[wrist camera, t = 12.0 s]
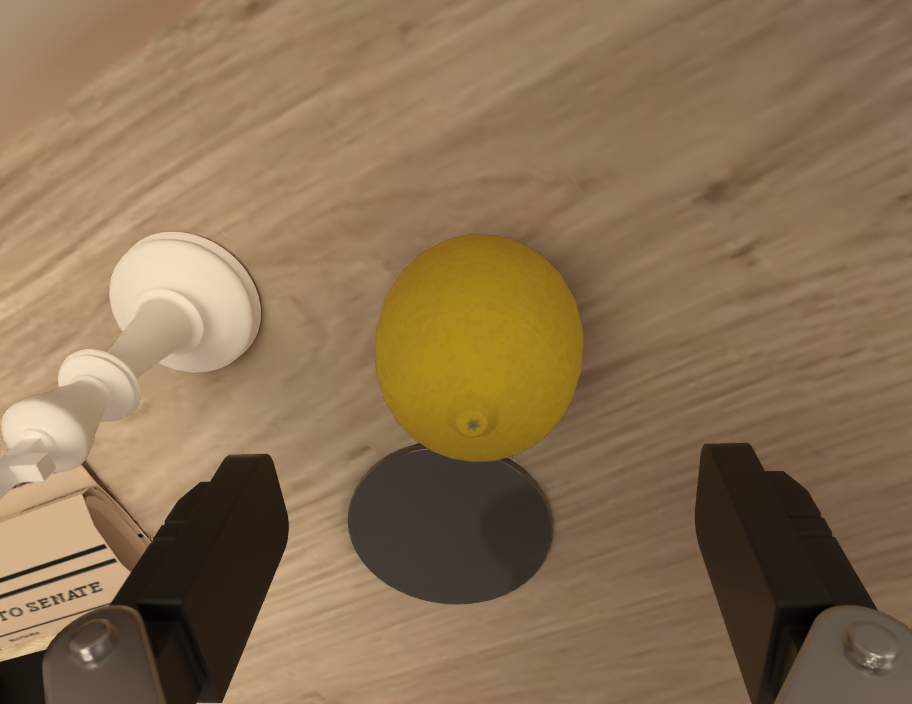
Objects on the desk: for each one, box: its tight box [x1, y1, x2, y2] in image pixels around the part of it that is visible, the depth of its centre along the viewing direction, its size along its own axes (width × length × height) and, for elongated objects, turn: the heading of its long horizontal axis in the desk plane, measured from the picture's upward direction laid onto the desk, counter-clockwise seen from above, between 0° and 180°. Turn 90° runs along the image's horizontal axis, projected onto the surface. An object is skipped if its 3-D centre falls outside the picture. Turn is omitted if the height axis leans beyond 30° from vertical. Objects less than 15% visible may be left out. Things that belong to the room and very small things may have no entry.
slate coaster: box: [348, 444, 553, 604], centre depth 26 cm, size 8×8×1 cm
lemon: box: [375, 234, 583, 462], centre depth 18 cm, size 6×6×8 cm
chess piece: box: [0, 232, 261, 500], centre depth 18 cm, size 5×5×10 cm
